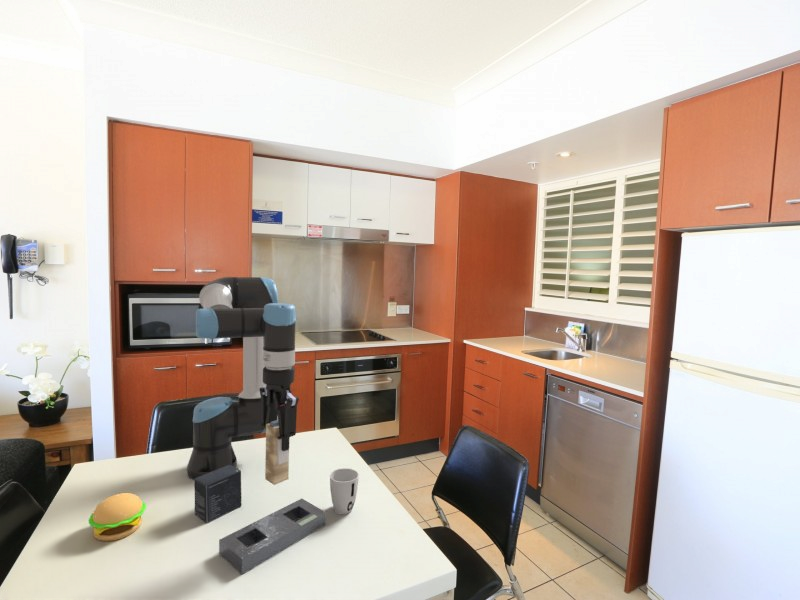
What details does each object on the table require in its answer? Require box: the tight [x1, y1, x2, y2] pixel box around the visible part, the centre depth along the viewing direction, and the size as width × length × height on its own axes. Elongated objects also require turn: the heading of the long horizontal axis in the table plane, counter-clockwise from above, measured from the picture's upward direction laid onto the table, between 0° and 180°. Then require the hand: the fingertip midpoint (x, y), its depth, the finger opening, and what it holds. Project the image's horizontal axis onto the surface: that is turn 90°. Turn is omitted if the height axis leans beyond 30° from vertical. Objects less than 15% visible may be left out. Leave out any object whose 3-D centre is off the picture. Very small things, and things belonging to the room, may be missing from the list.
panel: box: [218, 498, 327, 575], centre depth 102 cm, size 10×24×4 cm, turn 141°
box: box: [193, 465, 242, 524], centre depth 113 cm, size 11×7×10 cm, turn 145°
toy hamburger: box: [88, 492, 147, 542], centre depth 104 cm, size 12×12×9 cm
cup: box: [329, 467, 360, 515], centre depth 116 cm, size 8×8×10 cm
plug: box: [264, 420, 290, 486], centre depth 101 cm, size 4×4×15 cm
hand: (277, 458), depth 102 cm, fingers closed on plug, 4 cm apart
